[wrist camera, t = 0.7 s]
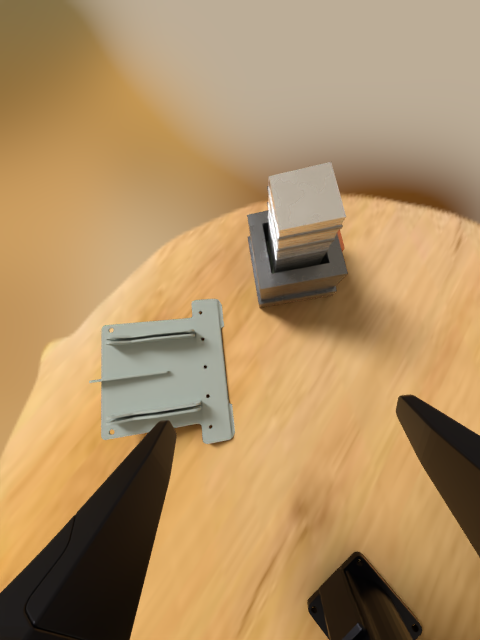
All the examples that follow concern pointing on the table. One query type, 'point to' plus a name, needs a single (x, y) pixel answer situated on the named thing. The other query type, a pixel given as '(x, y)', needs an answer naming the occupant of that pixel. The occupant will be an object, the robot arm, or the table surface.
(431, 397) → the table surface
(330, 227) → the column
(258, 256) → the collar
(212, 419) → the metal bracket
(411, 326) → the table surface
